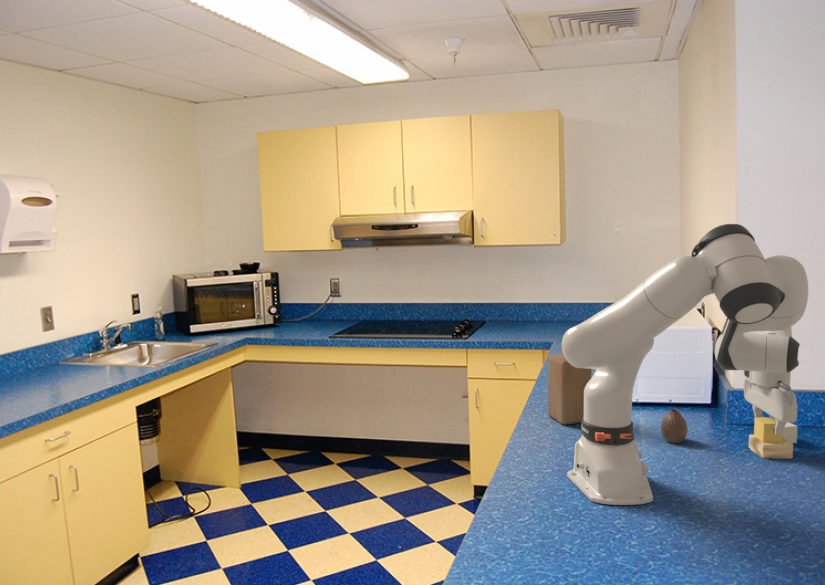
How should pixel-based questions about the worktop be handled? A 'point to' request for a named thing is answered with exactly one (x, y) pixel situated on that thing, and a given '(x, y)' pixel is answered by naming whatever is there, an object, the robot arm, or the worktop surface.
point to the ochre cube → (766, 430)
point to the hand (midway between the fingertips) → (768, 428)
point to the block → (566, 390)
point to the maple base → (771, 448)
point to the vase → (674, 427)
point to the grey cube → (790, 433)
